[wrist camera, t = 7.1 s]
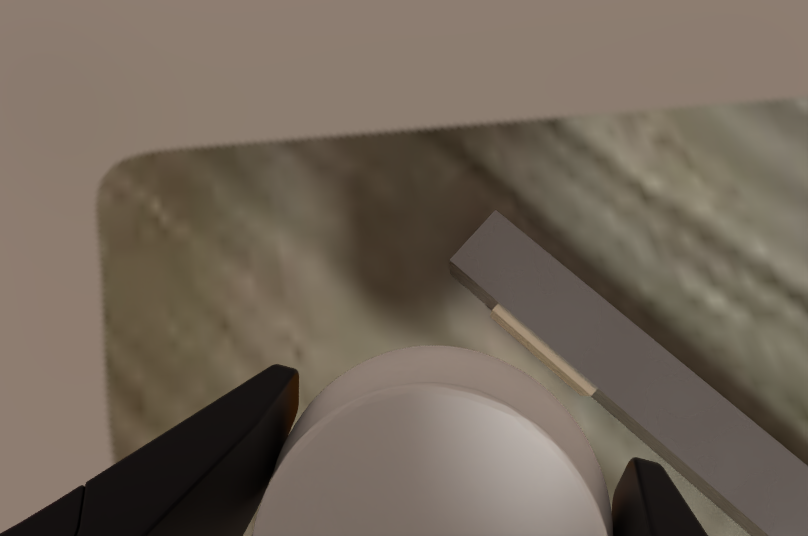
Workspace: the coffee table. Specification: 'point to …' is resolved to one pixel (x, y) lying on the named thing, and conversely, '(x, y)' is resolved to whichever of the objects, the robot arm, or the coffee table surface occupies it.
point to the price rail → (634, 380)
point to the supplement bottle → (435, 455)
